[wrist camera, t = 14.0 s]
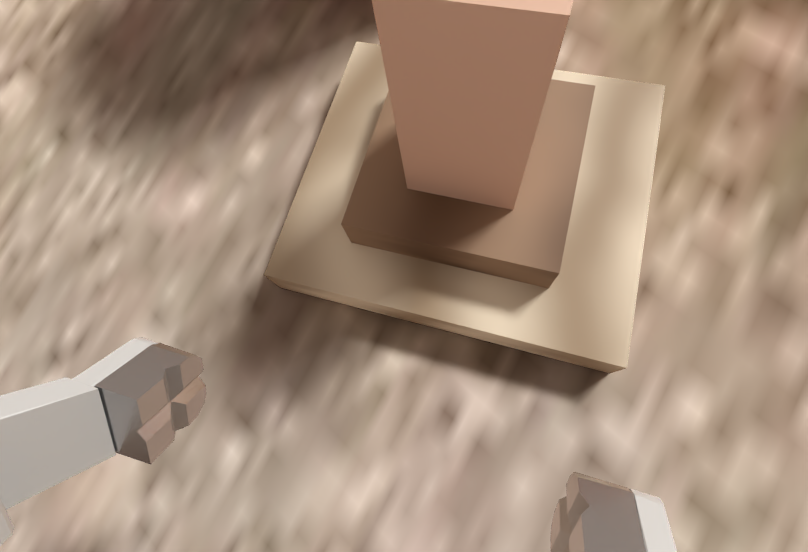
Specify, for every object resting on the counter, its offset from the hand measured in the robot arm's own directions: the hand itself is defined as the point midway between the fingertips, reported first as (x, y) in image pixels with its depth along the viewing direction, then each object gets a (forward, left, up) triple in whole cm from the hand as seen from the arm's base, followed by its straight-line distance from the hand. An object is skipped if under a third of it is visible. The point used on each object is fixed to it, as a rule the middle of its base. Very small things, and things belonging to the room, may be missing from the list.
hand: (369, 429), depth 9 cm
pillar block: (0, -11, -7) cm, 13 cm away
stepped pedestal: (0, -11, -11) cm, 16 cm away
